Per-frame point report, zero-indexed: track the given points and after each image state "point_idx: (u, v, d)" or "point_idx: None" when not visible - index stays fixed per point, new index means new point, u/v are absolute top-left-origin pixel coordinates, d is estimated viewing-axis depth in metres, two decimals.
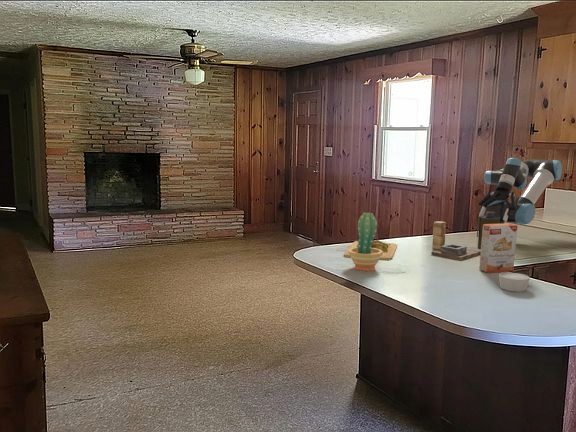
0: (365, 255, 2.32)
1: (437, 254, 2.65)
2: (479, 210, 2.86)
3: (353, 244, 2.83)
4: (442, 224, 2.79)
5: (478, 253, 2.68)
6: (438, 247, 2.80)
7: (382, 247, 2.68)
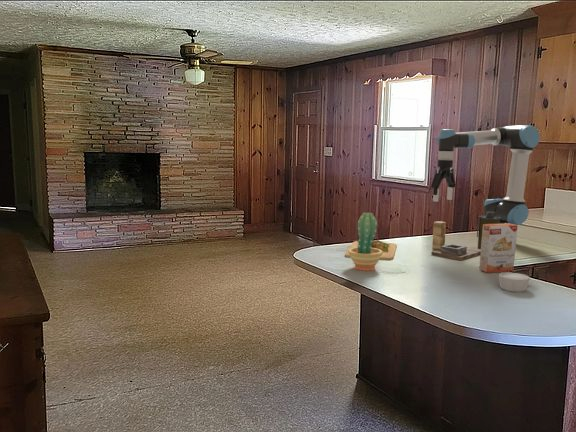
0: (365, 255, 2.32)
1: (437, 254, 2.65)
2: None
3: (353, 244, 2.83)
4: (442, 224, 2.79)
5: (478, 253, 2.68)
6: (438, 247, 2.80)
7: (383, 247, 2.68)
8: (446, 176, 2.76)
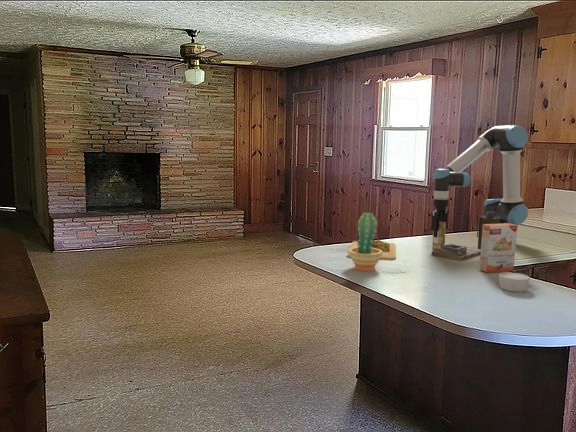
0: (365, 255, 2.32)
1: (437, 254, 2.65)
2: None
3: (353, 244, 2.82)
4: (442, 224, 2.79)
5: (478, 253, 2.68)
6: (438, 247, 2.80)
7: (384, 247, 2.68)
8: (442, 215, 2.80)
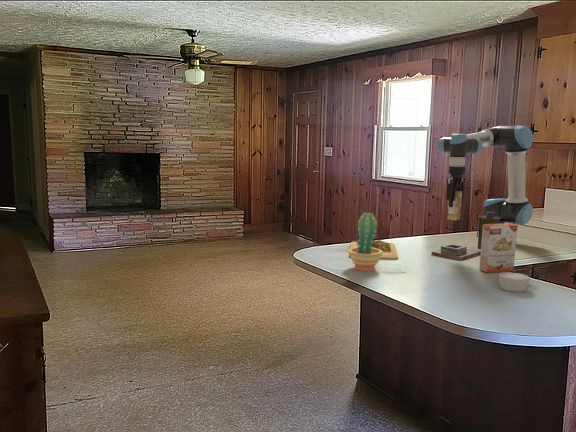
0: (365, 255, 2.32)
1: (437, 254, 2.65)
2: None
3: (352, 245, 2.82)
4: (458, 193, 2.61)
5: (478, 253, 2.68)
6: (453, 218, 2.62)
7: (385, 247, 2.68)
8: (458, 183, 2.62)
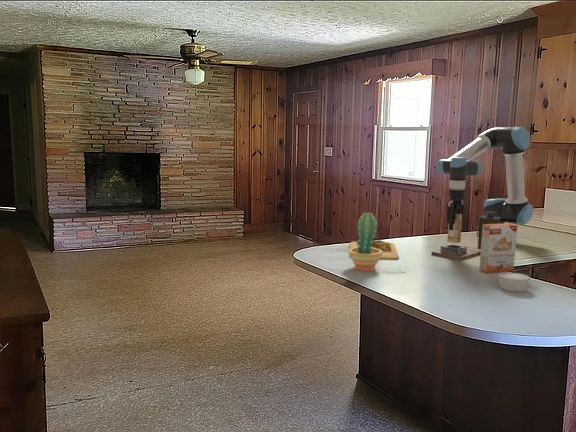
0: (365, 255, 2.32)
1: (437, 254, 2.65)
2: None
3: (352, 245, 2.82)
4: (458, 216, 2.61)
5: (478, 253, 2.68)
6: (454, 241, 2.63)
7: (386, 247, 2.68)
8: (458, 206, 2.62)
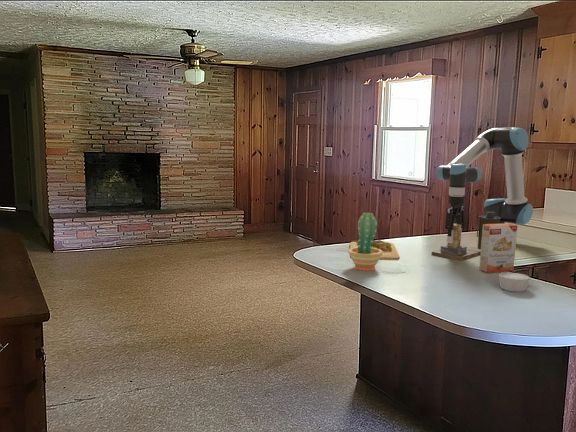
0: (365, 255, 2.32)
1: (437, 254, 2.65)
2: None
3: (352, 245, 2.81)
4: (457, 227, 2.62)
5: (478, 253, 2.68)
6: None
7: (386, 247, 2.68)
8: (458, 213, 2.63)
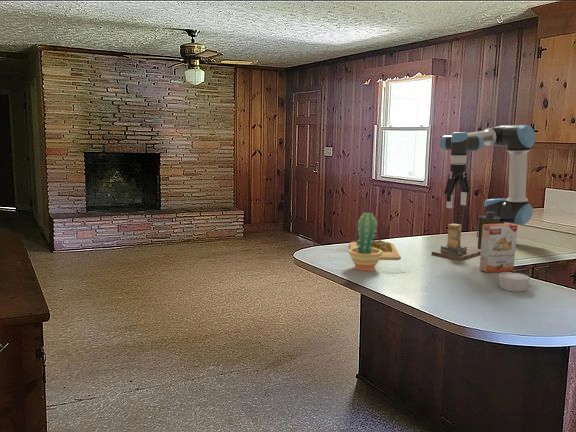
0: (365, 255, 2.32)
1: (437, 254, 2.65)
2: None
3: (352, 245, 2.81)
4: (458, 227, 2.62)
5: (478, 253, 2.68)
6: None
7: (386, 247, 2.68)
8: (459, 181, 2.65)
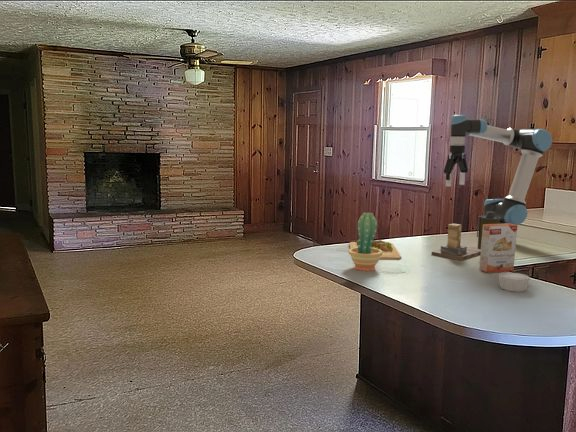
0: (365, 255, 2.32)
1: (437, 254, 2.65)
2: None
3: (352, 245, 2.81)
4: (458, 227, 2.62)
5: (478, 253, 2.68)
6: None
7: (387, 247, 2.68)
8: (458, 161, 2.81)
